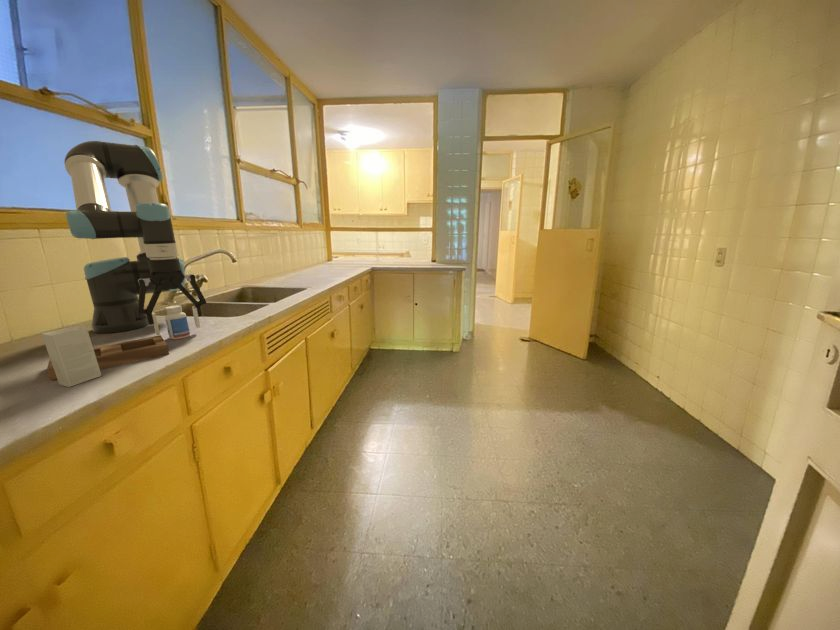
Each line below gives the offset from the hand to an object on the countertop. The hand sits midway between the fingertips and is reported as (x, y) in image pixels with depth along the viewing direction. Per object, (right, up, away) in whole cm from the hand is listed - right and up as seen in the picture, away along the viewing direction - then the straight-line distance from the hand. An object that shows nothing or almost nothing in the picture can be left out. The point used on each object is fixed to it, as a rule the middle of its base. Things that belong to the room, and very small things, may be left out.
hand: (178, 330), depth 104 cm
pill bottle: (0, -2, +1) cm, 2 cm away
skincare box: (-1, -10, -29) cm, 30 cm away
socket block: (-4, -7, -17) cm, 19 cm away
